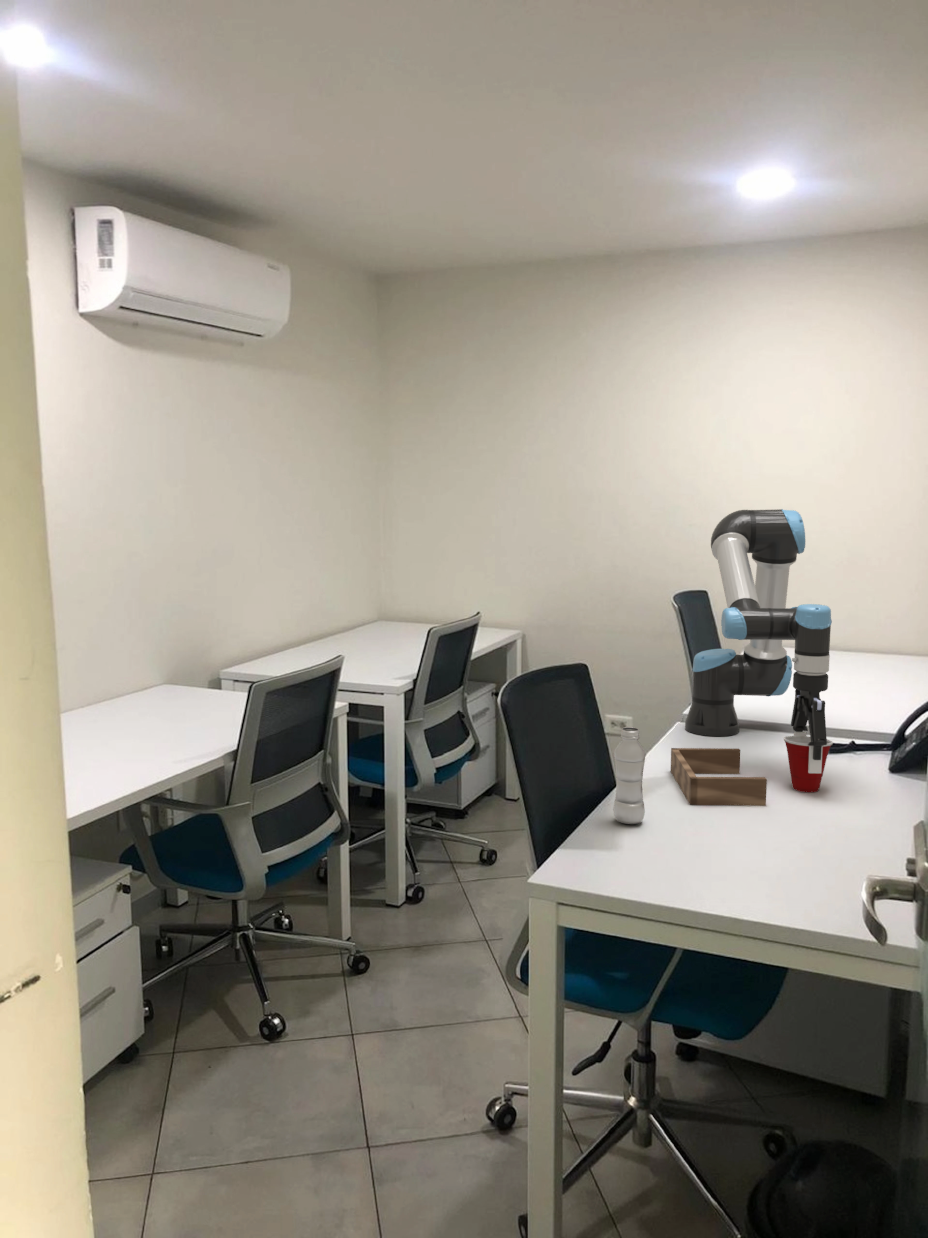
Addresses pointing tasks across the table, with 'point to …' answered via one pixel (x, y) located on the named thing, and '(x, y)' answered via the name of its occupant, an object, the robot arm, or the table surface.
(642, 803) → the plastic bottle
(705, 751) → the box
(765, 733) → the table surface
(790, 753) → the plastic cup
